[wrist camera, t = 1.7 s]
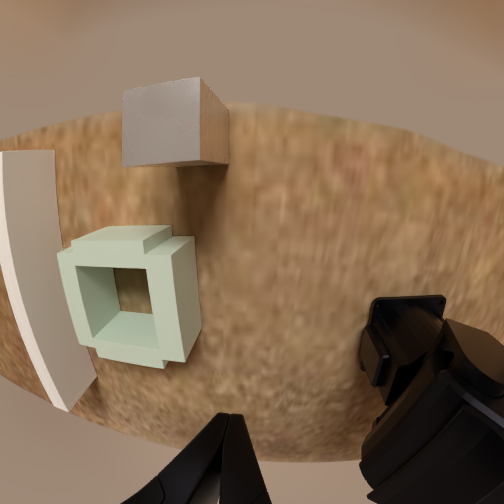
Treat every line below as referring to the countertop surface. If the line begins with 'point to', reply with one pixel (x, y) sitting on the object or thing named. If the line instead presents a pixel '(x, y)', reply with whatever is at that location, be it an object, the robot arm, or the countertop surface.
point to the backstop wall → (39, 274)
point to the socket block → (160, 288)
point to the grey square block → (174, 125)
